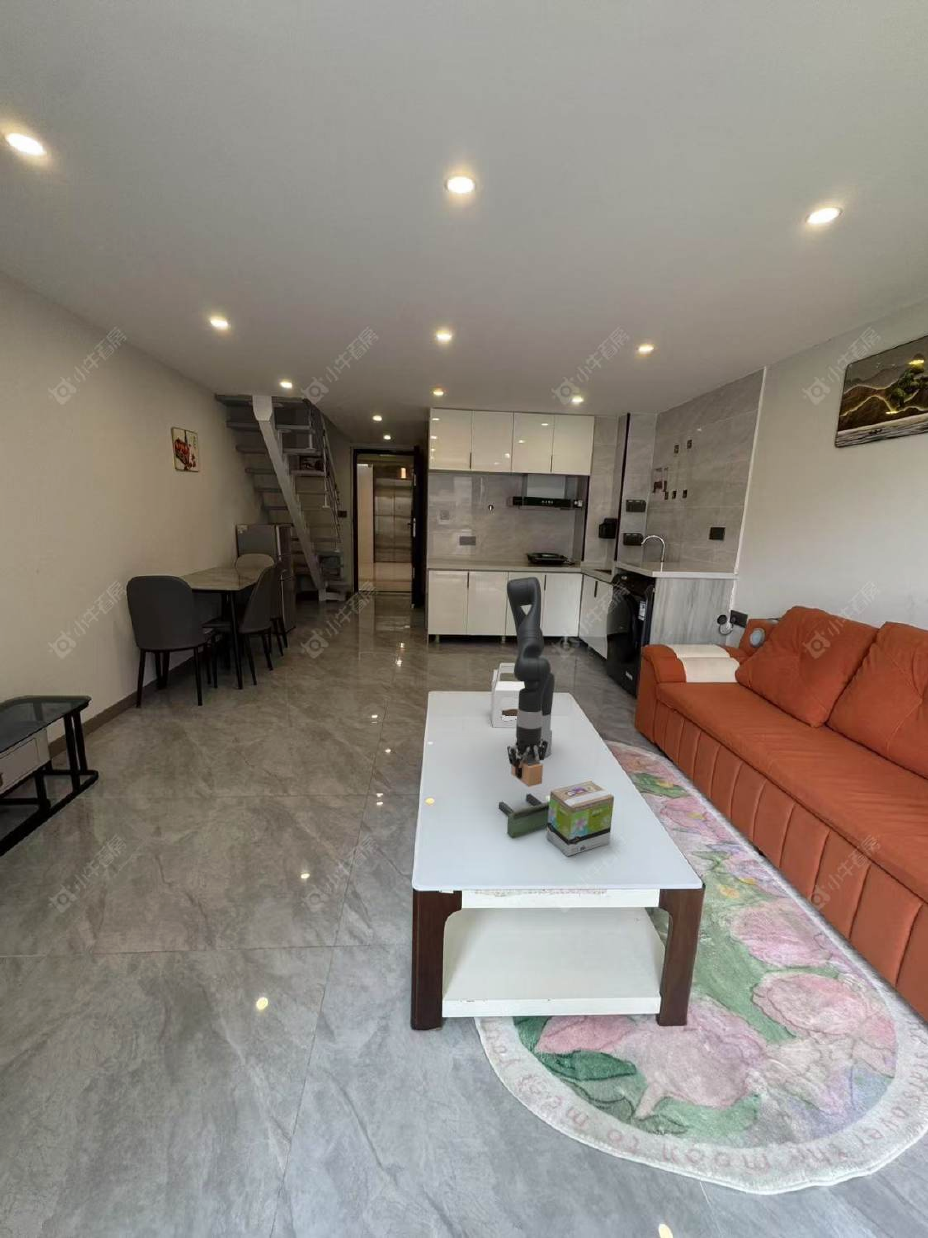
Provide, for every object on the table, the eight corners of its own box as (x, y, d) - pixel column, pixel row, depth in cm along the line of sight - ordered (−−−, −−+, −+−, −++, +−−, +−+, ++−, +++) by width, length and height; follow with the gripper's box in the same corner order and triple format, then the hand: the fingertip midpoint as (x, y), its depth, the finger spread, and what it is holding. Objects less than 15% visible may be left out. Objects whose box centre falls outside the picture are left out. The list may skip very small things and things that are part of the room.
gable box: (492, 728, 219) (494, 666, 214) (490, 716, 232) (492, 658, 228) (542, 729, 220) (545, 667, 215) (537, 717, 233) (540, 659, 228)
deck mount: (541, 795, 164) (543, 775, 163) (573, 819, 151) (574, 797, 150) (485, 812, 153) (485, 790, 152) (513, 839, 140) (514, 816, 139)
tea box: (568, 858, 133) (572, 807, 130) (545, 838, 142) (548, 789, 139) (610, 843, 140) (615, 795, 137) (586, 824, 149) (590, 778, 146)
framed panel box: (524, 770, 157) (525, 751, 156) (541, 783, 149) (543, 763, 148) (511, 773, 155) (511, 754, 154) (528, 787, 147) (529, 766, 146)
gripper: (540, 715, 156) (537, 765, 159) (502, 722, 149) (499, 775, 152) (556, 723, 149) (552, 776, 152) (516, 731, 142) (514, 786, 145)
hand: (526, 775), depth 152 cm, fingers closed on framed panel box, 5 cm apart
